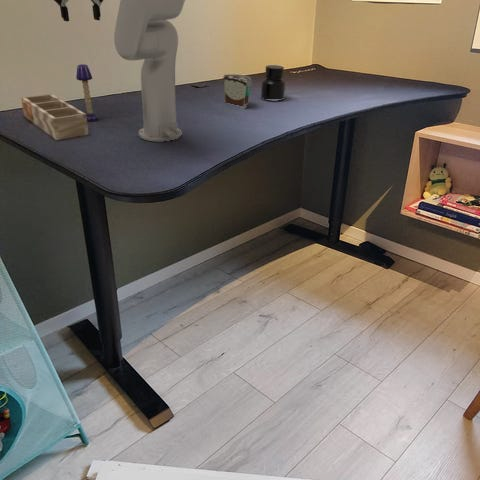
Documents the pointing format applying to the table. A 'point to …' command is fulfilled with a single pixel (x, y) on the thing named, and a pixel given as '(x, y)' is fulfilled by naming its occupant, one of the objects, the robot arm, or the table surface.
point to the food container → (237, 89)
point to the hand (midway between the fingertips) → (81, 20)
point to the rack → (55, 116)
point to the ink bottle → (273, 83)
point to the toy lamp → (86, 89)
